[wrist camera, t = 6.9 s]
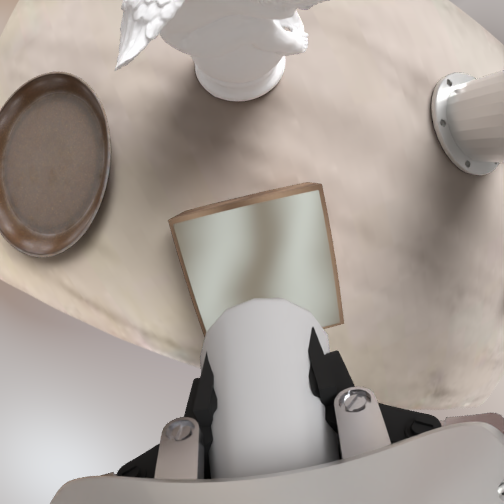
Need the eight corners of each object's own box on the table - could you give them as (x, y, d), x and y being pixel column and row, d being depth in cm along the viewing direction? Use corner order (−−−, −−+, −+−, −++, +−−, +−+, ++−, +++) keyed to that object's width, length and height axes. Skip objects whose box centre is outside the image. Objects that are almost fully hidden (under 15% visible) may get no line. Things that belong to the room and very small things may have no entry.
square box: (307, 182, 27) (322, 184, 21) (328, 297, 30) (344, 325, 24) (185, 211, 28) (167, 220, 22) (217, 321, 31) (209, 354, 25)
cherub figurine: (310, 60, 24) (409, -90, 3) (242, 158, 27) (225, 103, 6) (209, 9, 22) (167, -148, 1) (140, 100, 25) (-22, 13, 4)
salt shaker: (191, 350, 15) (124, 586, 3) (238, 260, 14) (196, 584, 1) (284, 388, 16) (312, 603, 3) (339, 310, 15) (466, 544, 2)
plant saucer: (117, 262, 30) (104, 272, 26) (-2, 240, 29) (-18, 246, 26) (138, 71, 24) (126, 60, 21) (9, 91, 24) (-6, 87, 21)
